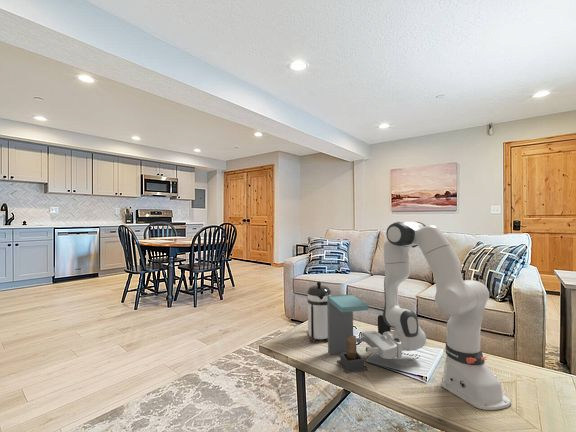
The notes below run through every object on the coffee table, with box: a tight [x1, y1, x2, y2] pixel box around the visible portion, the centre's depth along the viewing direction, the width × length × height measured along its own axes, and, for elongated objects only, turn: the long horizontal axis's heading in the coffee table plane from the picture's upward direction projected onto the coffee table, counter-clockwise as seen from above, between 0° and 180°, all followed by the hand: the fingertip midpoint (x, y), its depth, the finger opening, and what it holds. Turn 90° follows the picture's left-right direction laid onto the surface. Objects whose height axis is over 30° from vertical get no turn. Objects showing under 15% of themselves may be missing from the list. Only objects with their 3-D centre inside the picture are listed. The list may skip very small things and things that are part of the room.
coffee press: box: [306, 281, 332, 343], centre depth 158 cm, size 17×16×30 cm
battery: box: [377, 313, 392, 335], centre depth 158 cm, size 7×4×11 cm, turn 54°
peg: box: [347, 334, 358, 361], centre depth 127 cm, size 4×4×12 cm
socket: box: [336, 352, 369, 374], centre depth 127 cm, size 10×10×4 cm
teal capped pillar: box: [327, 293, 370, 355], centre depth 132 cm, size 18×12×27 cm, turn 12°
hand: (361, 345), depth 128 cm, fingers open, 8 cm apart
